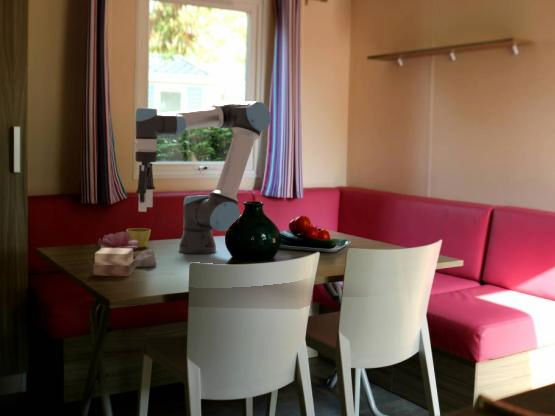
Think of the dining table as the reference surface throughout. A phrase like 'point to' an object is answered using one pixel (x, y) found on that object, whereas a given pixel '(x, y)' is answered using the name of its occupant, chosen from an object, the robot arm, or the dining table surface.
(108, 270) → the tower base
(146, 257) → the stone
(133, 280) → the dining table surface
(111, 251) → the tower top
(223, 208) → the robot arm
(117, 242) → the flower
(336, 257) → the dining table surface
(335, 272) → the dining table surface
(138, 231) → the flower pot
